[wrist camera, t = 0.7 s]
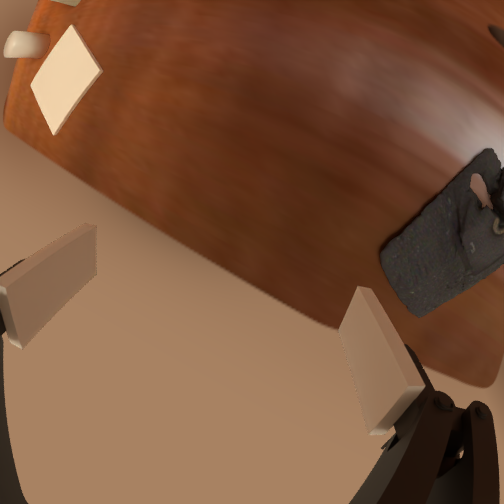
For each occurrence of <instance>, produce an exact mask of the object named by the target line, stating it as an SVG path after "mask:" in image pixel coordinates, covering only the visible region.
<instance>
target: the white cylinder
mask: <svg viewBox="0 0 504 504" xmlns="http://www.w3.org/2000/svg"><path fill="white" fill-rule="evenodd" d="M49 45H50V36H49V35H48V34H41V33H33V32H22V31H13V32H12V33H11V34H10V36H9V37H8V39H7V41H6V44H5V47H4V57H11V58H13V57H14V58H15V57H16V58H37V59H40V58H42V57H43V56H44V55H45V53H46V52H47V50H48V48H49Z"/></svg>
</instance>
